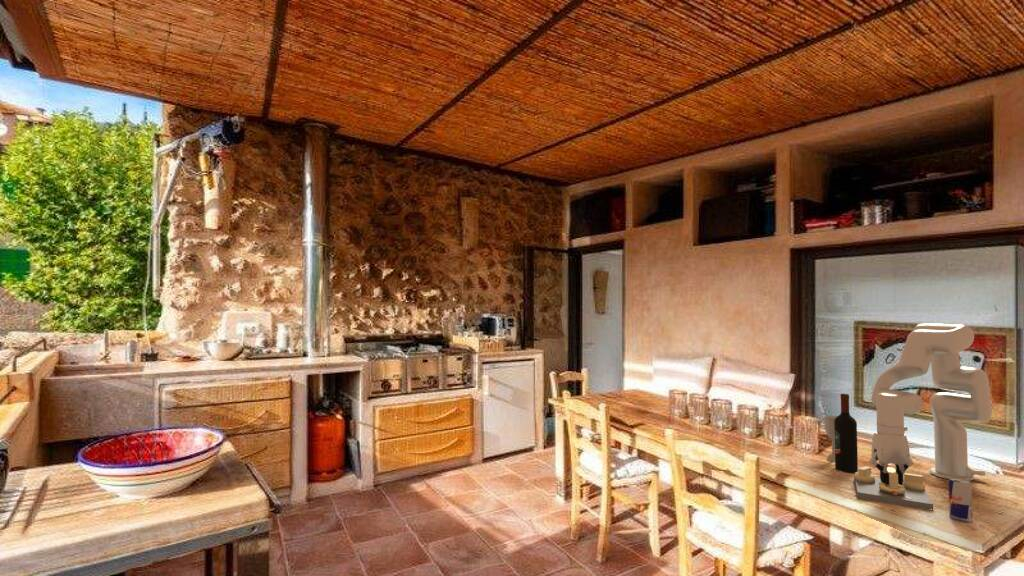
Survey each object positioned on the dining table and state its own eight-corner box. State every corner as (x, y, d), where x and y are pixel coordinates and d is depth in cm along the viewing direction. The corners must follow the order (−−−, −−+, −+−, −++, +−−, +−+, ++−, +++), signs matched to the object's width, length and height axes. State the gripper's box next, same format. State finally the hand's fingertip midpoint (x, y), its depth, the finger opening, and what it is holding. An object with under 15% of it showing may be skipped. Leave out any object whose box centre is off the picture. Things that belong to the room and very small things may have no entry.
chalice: (838, 457, 215) (837, 415, 215) (847, 462, 208) (846, 419, 208) (820, 457, 215) (819, 415, 216) (829, 462, 209) (828, 418, 209)
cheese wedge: (877, 486, 176) (877, 466, 176) (902, 489, 172) (901, 468, 173) (882, 494, 168) (881, 473, 168) (908, 498, 164) (908, 477, 165)
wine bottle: (851, 474, 194) (849, 396, 195) (831, 468, 201) (829, 393, 202) (862, 471, 198) (860, 395, 198) (842, 465, 204) (840, 392, 205)
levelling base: (922, 490, 178) (921, 472, 178) (933, 510, 160) (932, 490, 161) (854, 479, 188) (853, 462, 188) (857, 498, 171) (857, 479, 171)
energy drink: (944, 516, 156) (943, 477, 157) (960, 515, 157) (959, 476, 157) (961, 523, 151) (960, 483, 151) (977, 522, 152) (976, 483, 152)
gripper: (908, 427, 174) (909, 480, 174) (858, 426, 176) (859, 479, 175) (924, 433, 167) (925, 488, 166) (871, 432, 168) (872, 487, 168)
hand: (891, 483), depth 171 cm, fingers closed on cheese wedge, 3 cm apart
